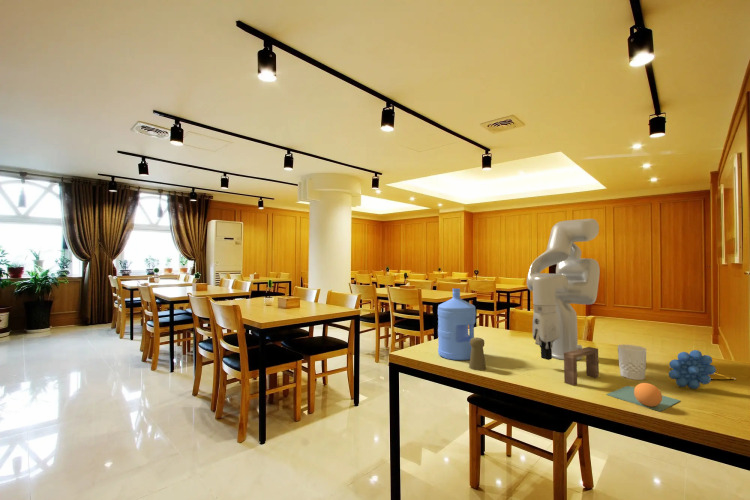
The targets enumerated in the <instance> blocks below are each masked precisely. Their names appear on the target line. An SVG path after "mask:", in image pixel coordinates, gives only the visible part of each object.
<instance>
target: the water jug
mask: <svg viewBox="0 0 750 500" xmlns="http://www.w3.org/2000/svg"><path fill="white" fill-rule="evenodd" d="M476 314H477V313H476V306H475V305H474V304H471V303H470V302H469V301H466V300H464V299H462V298H461V288H452V298H450V299H448V300H447V301H444V302H442V303H440V304H438V306H437V318H438V320H437V323H438V324H437V337H438V341H437V342H438V344H437V345H438V347H437V352H438V356H440V357H442V358H445V359H447V360H452V361H454V360H455V361H468V360H469V361H470V356H471V348H472V347H471V345H470V340H471V339H472V338H475V323H476V317H477V315H476Z"/></svg>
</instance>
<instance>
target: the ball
mask: <svg viewBox="0 0 750 500" xmlns="http://www.w3.org/2000/svg"><path fill="white" fill-rule="evenodd" d="M634 388H635V389H634V395H635V397H636V399H637V400H638V401H639V402H640V403H641V404H643V405H645V406H649V407H654V406H657V405H659V404H660V403H661V401H662V392H661V390H660V389H659V388H658V387H656V386H655V385H654V384H651V383H648V382H641V383H638V384H637V385H636V386H635V387H634Z"/></svg>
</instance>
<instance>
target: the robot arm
mask: <svg viewBox="0 0 750 500" xmlns="http://www.w3.org/2000/svg"><path fill="white" fill-rule="evenodd" d="M599 230H600V226H599V223H598V221H597V220H596V219H595V218H584V219H570V220H569V219H568V220H563V221H562V220H561V221H558V222H557V223H555V224H554V225H553V226H552V228H551V230H550V234H549V238H548V243H547V246H546V250H545V251H544V252H542V253H541V254H540V255H539V256H537V257H536V258H535V259H534V260H533V262H531V264H530V266H529V270H528V273H527V276H526V286H527V290H529V291H530V292H532V301H533V302H532V304H533V305H532V307H533V309H532V310H533V314H532V315H533V316H532V338H533V340H535V345H537V346H539V348H540V358H541V359H544V360H547V361H550V360H552V359H553V358H554V359H558V360H563V361H564V353H565V352H569V351H573V350H578V349H582V348H583V346H582V345H581V344H578V315H577V312H576V310H575V309H574V308H573V306H572V305H573V304H575V305H576V304H577V305H593V304H595V302H596V300H597V298H598V297H597V296H598V290H599V282H600V273H601V272H600V270H601V269H600V265H599V262H598V260H596V259H594V258H587V257H586V258H584V257H583V258H581V257H582V250H581V248H580V247H579V246H578V245H577V244H576V243H579V242H580V243H583V242H589V241H592V240H594V239H596V237H597V236H598V235H599V232H600V231H599ZM554 265H556V267H555V273H544V272H542V271H544V270H545V269H546V268H548V267H551V266H554ZM571 304H572V305H571ZM582 359H583V356H582V357H578V358H577V361H580V360H582Z"/></svg>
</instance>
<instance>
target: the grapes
mask: <svg viewBox="0 0 750 500" xmlns="http://www.w3.org/2000/svg"><path fill="white" fill-rule="evenodd" d="M712 363H713V358H712V356H710V355H708V354H706V355H705V354H704V355H703V354H702V352H701V351H700V350H697V349H696V350H695V349H693V350H691V351H690V352H686V351H681V352H679V353H678V354H677V359H672V360H671V361H670V362H669V368H672V369H673V370H672V369H671V370H669V372H668V376H669V378H670V379H672V380H675V384H676V386H677V387H681V388H684V387H685V388H686V386H687V387H688V388H689V389H691V388H692V389H693V390H696V389H699V388H700V385H707V384H709V383H710V382H711V381H712V380H711V379H712V378H711V375H715V374H714V373H715V372H717V368H716V366H715V365H714V364H712ZM707 374H708V375H707ZM709 375H710V376H709Z"/></svg>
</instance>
